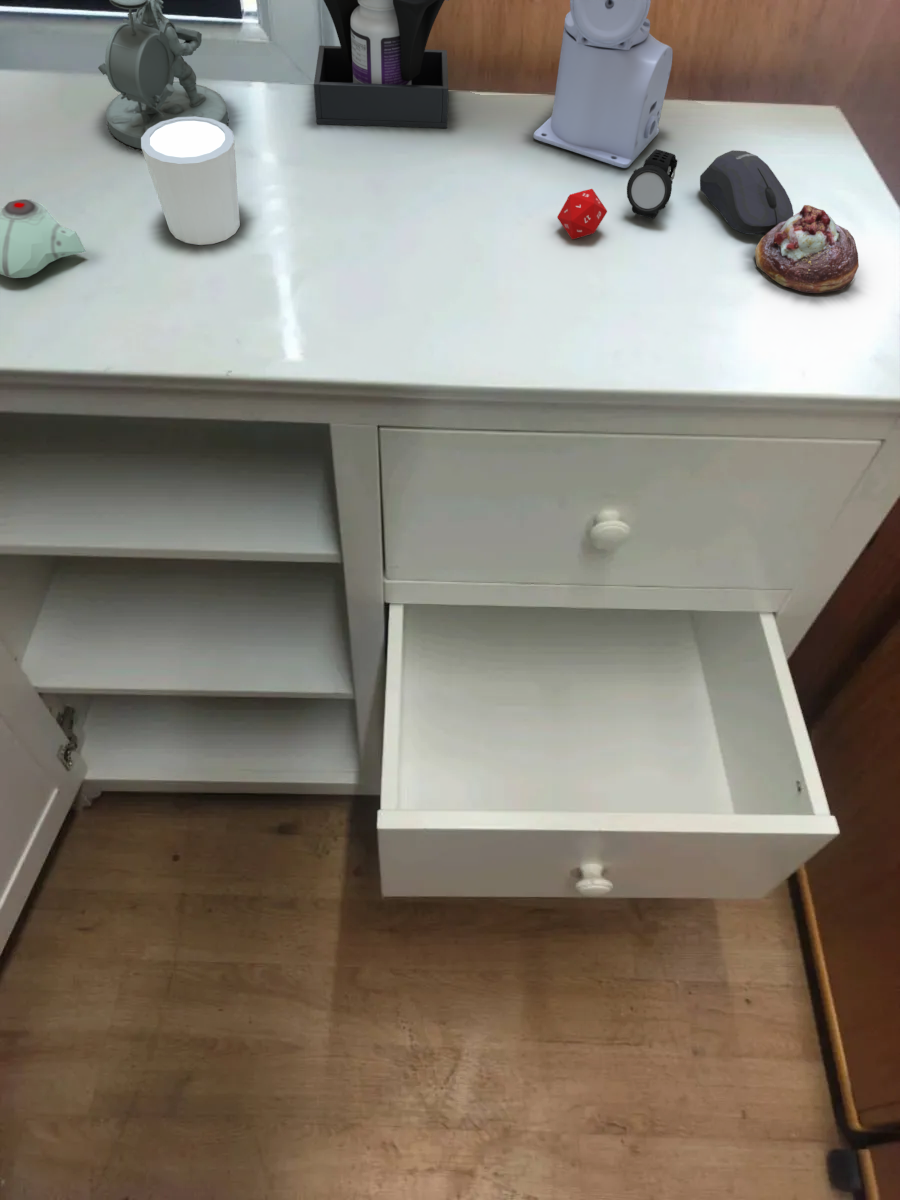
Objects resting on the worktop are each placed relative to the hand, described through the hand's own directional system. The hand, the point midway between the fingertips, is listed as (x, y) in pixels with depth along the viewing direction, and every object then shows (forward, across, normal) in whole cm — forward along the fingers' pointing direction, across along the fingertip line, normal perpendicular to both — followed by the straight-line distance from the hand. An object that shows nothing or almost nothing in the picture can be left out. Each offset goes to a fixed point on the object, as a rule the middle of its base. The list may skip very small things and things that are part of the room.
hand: (382, 67), depth 81 cm
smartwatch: (+4, +29, -3) cm, 29 cm away
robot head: (+2, -8, -39) cm, 40 cm away
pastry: (+4, +42, -3) cm, 42 cm away
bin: (+3, 0, 0) cm, 3 cm away
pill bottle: (+3, 0, 0) cm, 3 cm away
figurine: (+4, -14, -14) cm, 20 cm away
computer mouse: (+3, +35, +2) cm, 35 cm away
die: (+4, +25, -9) cm, 26 cm away
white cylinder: (+4, -1, -25) cm, 25 cm away
